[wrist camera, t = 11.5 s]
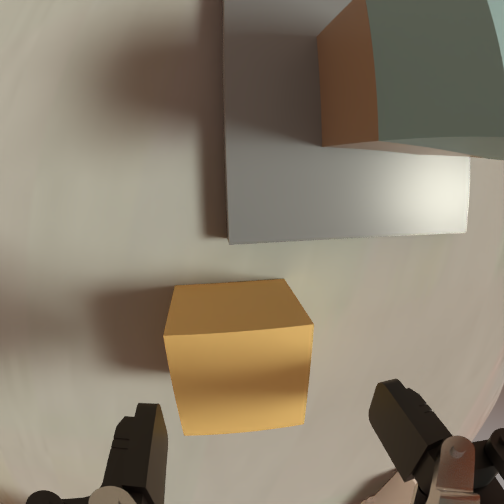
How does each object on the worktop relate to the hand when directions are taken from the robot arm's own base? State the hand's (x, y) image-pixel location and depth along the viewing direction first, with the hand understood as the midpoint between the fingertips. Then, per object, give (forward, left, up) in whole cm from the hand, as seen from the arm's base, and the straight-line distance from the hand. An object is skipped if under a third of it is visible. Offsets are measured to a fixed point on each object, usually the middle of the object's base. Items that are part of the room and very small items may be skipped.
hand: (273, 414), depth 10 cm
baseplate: (+12, -6, -7) cm, 15 cm away
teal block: (+12, -6, 0) cm, 13 cm away
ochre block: (0, +1, -7) cm, 7 cm away
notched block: (-26, -14, -7) cm, 30 cm away
